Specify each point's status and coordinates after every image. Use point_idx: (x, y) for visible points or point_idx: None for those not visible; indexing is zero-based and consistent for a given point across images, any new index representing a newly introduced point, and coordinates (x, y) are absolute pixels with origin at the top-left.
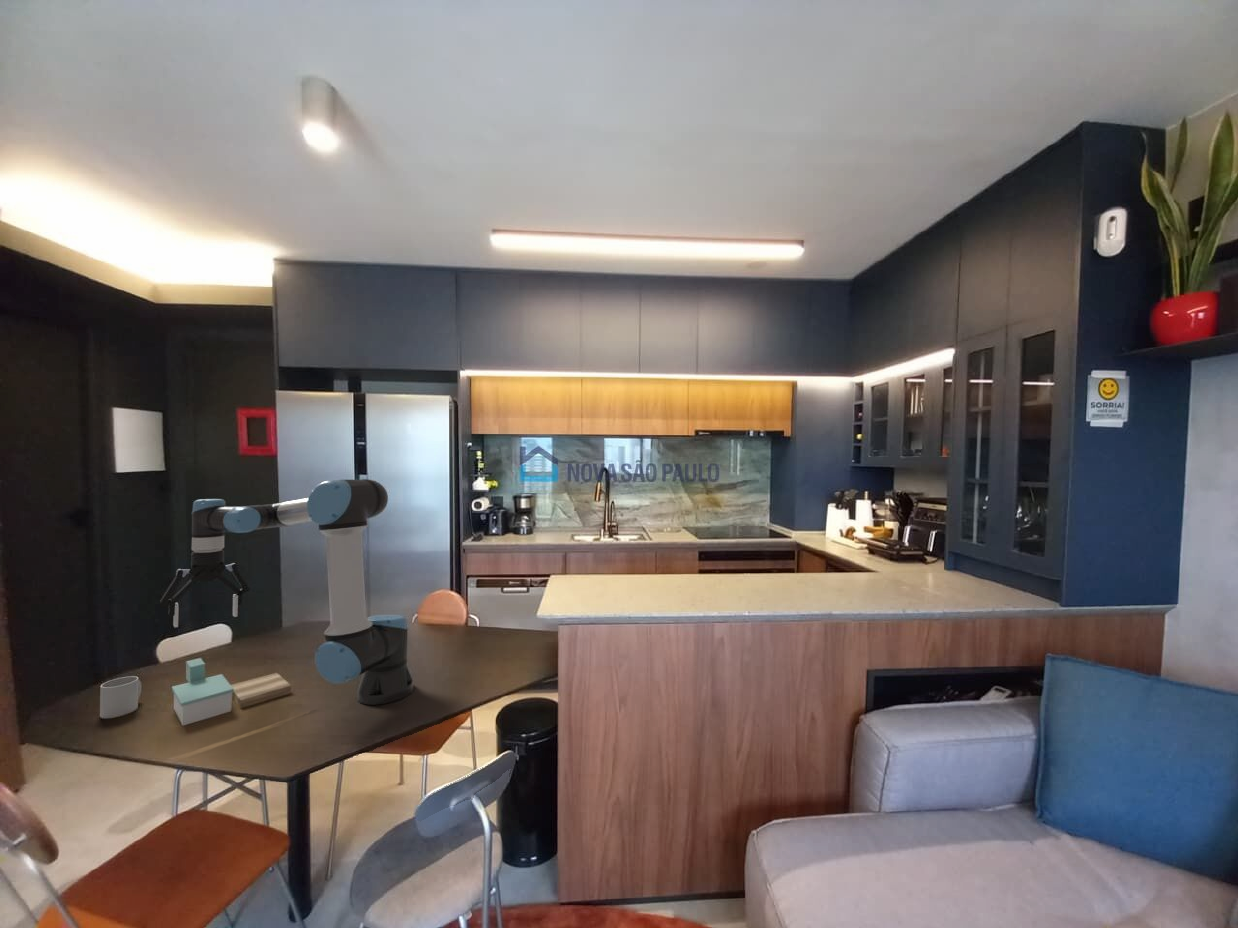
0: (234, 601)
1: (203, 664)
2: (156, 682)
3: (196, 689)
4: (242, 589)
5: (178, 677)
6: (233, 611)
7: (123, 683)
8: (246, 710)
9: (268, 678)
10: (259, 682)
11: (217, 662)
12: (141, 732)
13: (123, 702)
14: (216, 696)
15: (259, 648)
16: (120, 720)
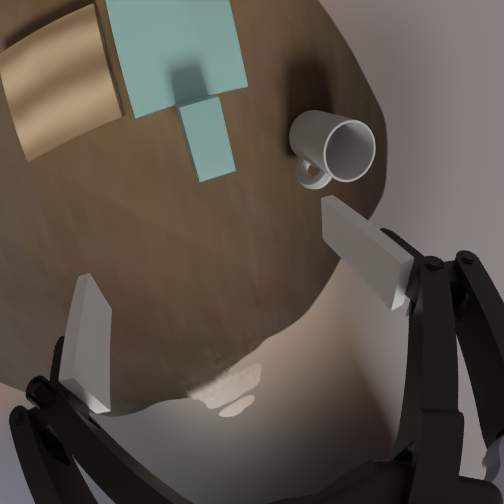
0: (81, 346)
1: (183, 106)
2: (269, 270)
3: (189, 25)
4: (43, 426)
5: (239, 280)
6: (99, 311)
7: (337, 174)
8: None
9: (39, 125)
10: (55, 103)
11: (186, 327)
12: (269, 12)
13: (321, 114)
14: None
15: (131, 364)
16: (307, 100)
